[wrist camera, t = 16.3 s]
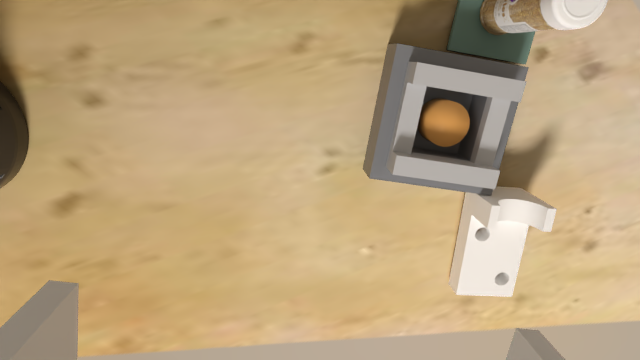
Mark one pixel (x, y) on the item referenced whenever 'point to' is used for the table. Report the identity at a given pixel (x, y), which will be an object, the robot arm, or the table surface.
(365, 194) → the table surface
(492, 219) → the bracket
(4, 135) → the robot arm
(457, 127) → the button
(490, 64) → the grey square holder
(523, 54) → the mat
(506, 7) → the sprinkles bottle
